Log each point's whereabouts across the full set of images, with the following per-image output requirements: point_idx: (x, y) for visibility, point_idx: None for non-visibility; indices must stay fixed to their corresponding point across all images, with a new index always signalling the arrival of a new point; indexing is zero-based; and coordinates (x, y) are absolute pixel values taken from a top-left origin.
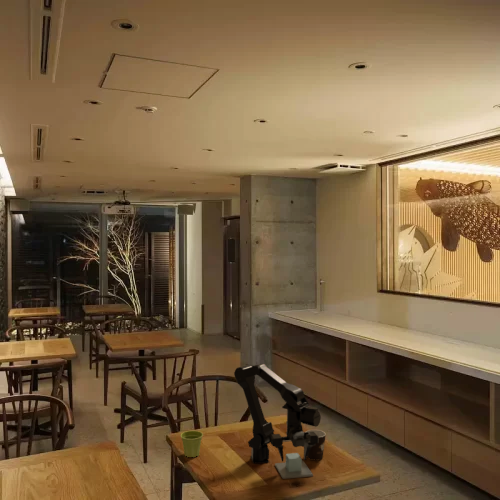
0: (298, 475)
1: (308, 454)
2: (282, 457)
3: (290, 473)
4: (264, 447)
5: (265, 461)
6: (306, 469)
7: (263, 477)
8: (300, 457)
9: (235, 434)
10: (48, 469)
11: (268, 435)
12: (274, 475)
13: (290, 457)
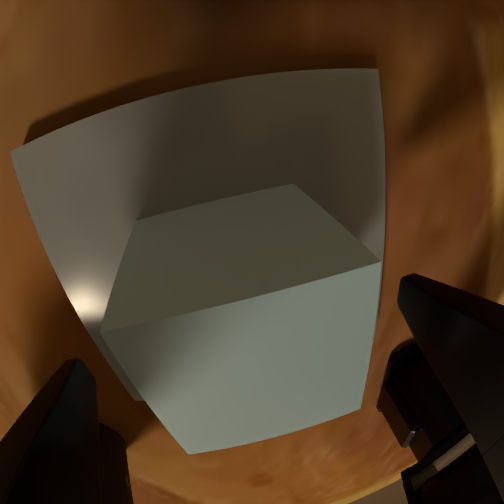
0: (181, 90)
1: (110, 452)
2: (457, 298)
3: (282, 141)
4: (460, 421)
5: (412, 352)
6: (80, 261)
7: (482, 131)
8: (126, 358)
9: (394, 469)
10: None
11: (499, 498)
12: (419, 153)
13: (334, 334)
